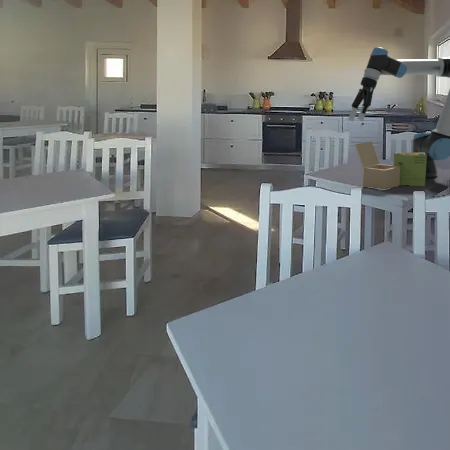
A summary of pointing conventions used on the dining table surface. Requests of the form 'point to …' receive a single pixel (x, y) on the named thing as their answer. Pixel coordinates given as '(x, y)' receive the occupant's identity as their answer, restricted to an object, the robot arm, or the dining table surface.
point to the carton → (381, 176)
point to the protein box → (411, 168)
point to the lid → (367, 154)
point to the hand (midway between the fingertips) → (355, 120)
